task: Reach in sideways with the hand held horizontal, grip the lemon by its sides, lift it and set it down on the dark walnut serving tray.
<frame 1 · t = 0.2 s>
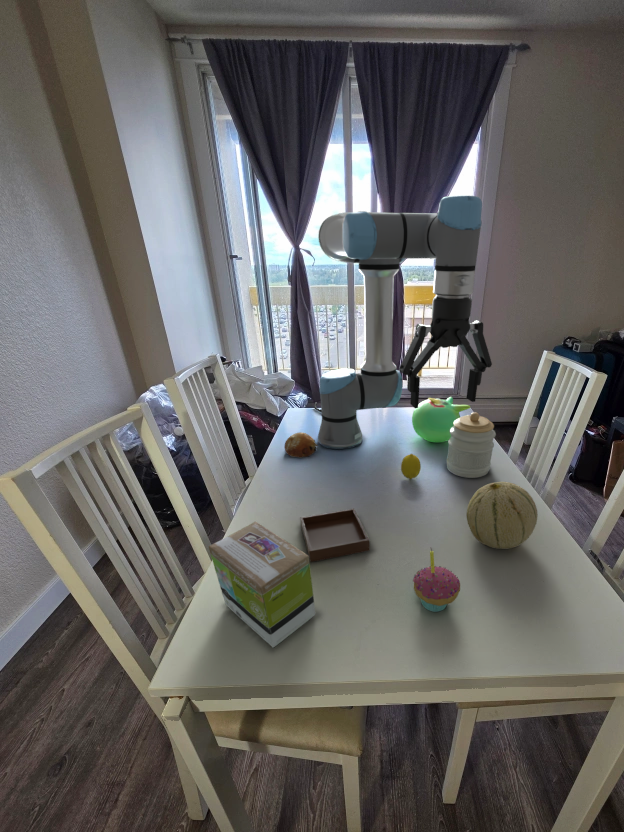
hand: (443, 403, 90), 28 cm above the table, tool pointing down, fingers open, 13 cm apart
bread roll: (302, 452, 133), on the table
cantaloupe: (495, 542, 93), on the table
tray: (334, 538, 94), on the table
tea box: (270, 611, 75), on the table
lemon: (410, 479, 117), on the table
jar: (467, 469, 123), on the table
cupcake: (434, 603, 77), on the table
toy bird: (435, 439, 142), on the table
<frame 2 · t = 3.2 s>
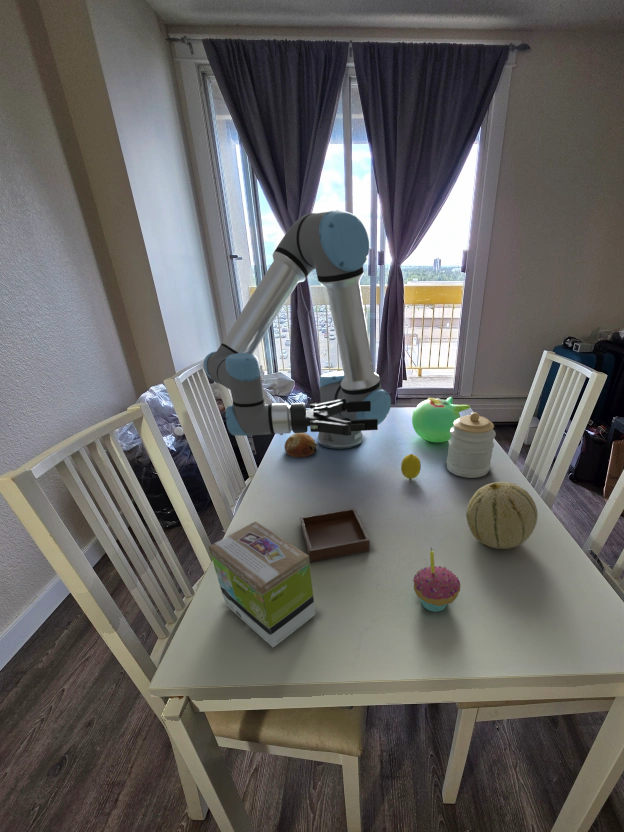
hand: (373, 414, 106), 20 cm above the table, tool horizontal, fingers open, 13 cm apart
nothing on the table moved.
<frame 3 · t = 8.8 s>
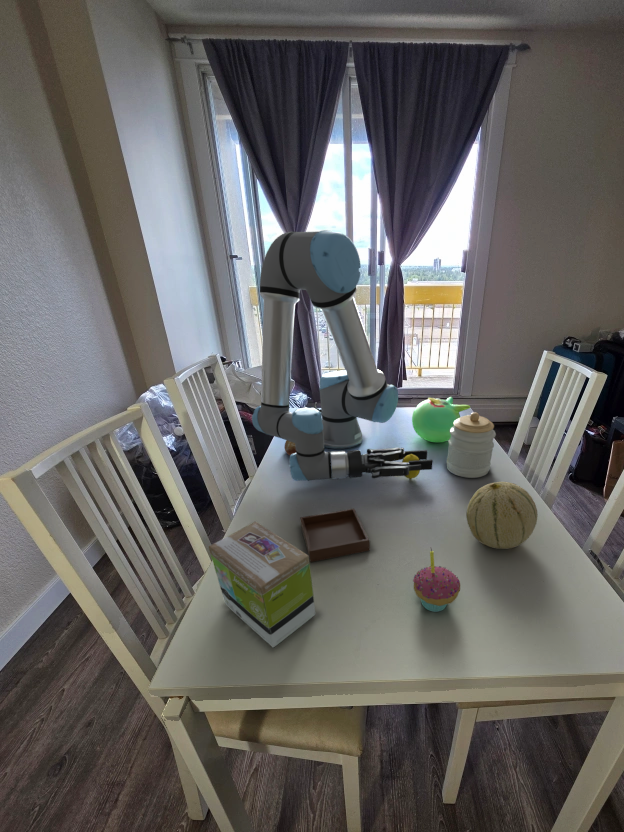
hand: (429, 459, 115), 6 cm above the table, tool horizontal, fingers closed on lemon, 5 cm apart
lemon: (410, 479, 117), on the table, touching gripper
everything else where it was.
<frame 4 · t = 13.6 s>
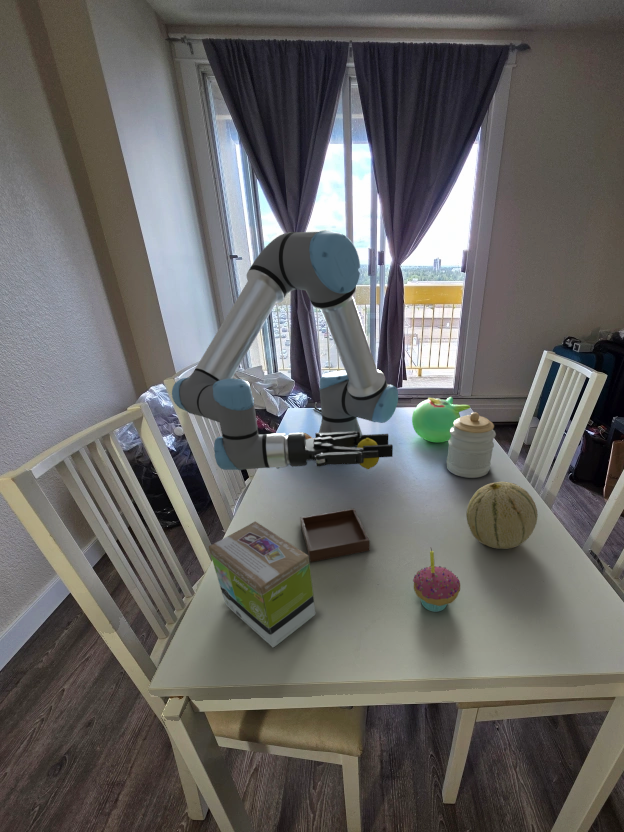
hand: (389, 444, 94), 18 cm above the table, tool horizontal, fingers closed on lemon, 5 cm apart
lemon: (367, 470, 97), point 12 cm above the table, touching gripper
everything else where it was.
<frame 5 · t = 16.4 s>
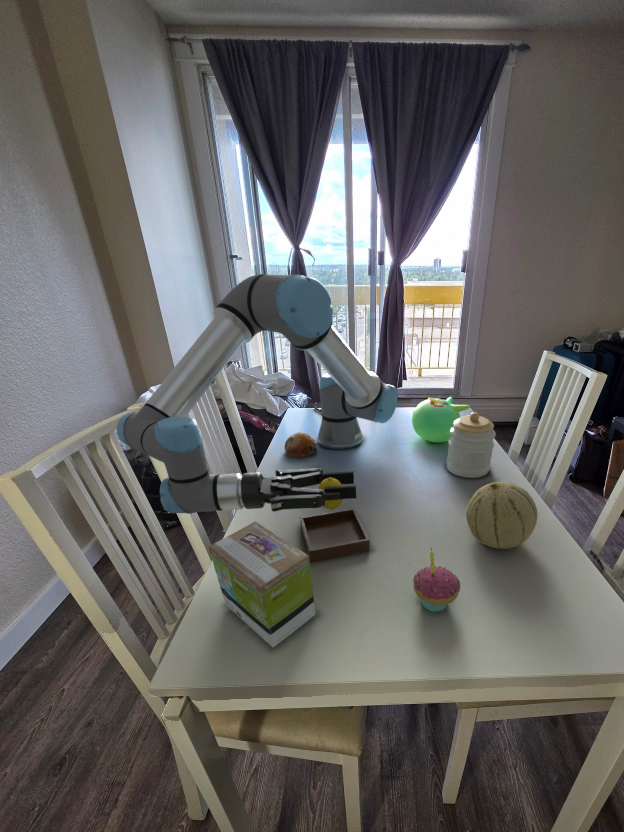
hand: (354, 484, 87), 14 cm above the table, tool horizontal, fingers closed on lemon, 5 cm apart
lemon: (332, 510, 89), point 8 cm above the table, touching gripper
everything else where it was.
when the fingers open (7 cm above the table, at t = 18.6 s): lemon stays where it is, resting on tray.
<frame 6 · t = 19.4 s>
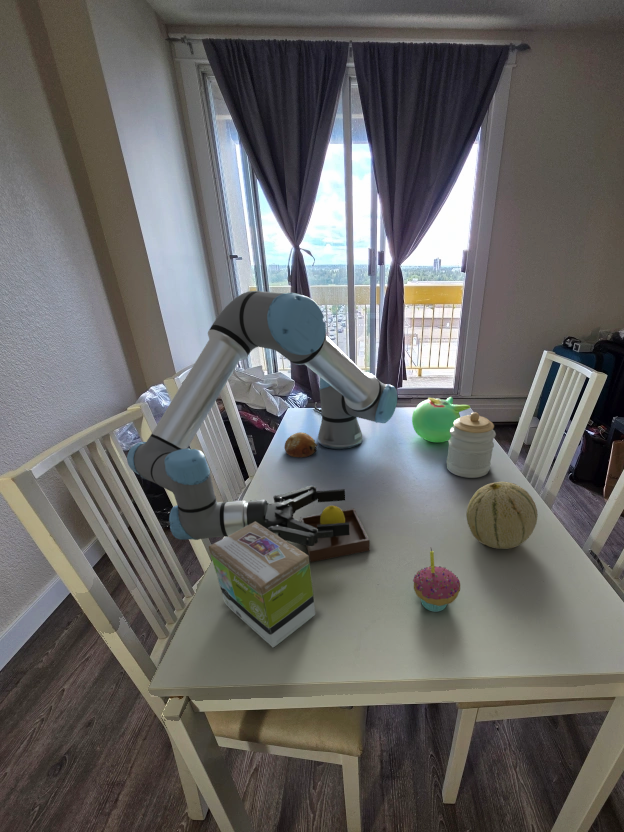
hand: (347, 510, 90), 7 cm above the table, tool horizontal, fingers open, 13 cm apart
lemon: (333, 536, 93), point 1 cm above the table, touching tray
everything else where it was.
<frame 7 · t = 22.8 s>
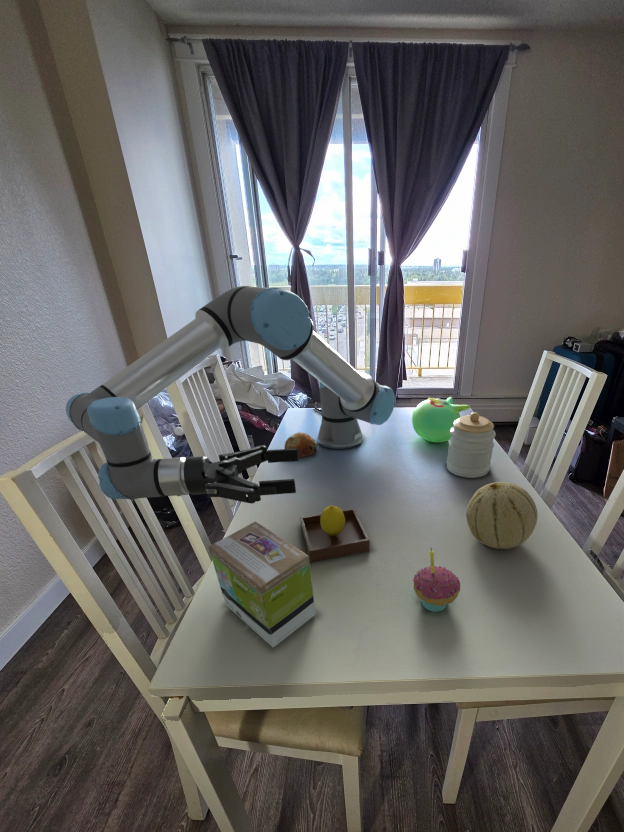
hand: (296, 469, 83), 18 cm above the table, tool horizontal, fingers open, 13 cm apart
nothing on the table moved.
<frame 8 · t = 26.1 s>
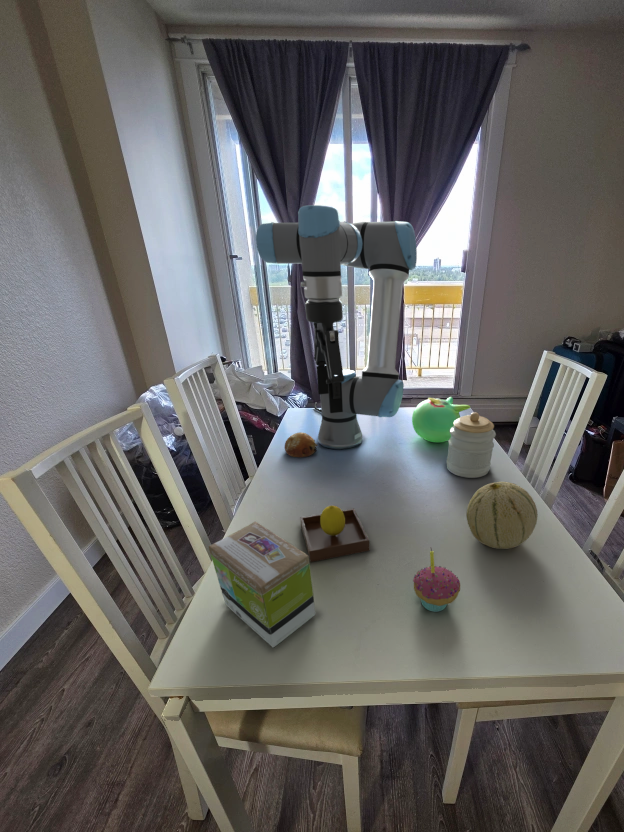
hand: (329, 402, 93), 27 cm above the table, tool pointing down, fingers open, 13 cm apart
nothing on the table moved.
at the end: lemon inside the target area in the tray (0.1 cm from its centre), point 0.8 cm above the tray's base; the gripper is holding nothing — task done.
